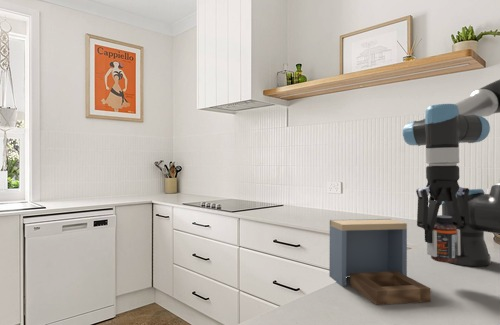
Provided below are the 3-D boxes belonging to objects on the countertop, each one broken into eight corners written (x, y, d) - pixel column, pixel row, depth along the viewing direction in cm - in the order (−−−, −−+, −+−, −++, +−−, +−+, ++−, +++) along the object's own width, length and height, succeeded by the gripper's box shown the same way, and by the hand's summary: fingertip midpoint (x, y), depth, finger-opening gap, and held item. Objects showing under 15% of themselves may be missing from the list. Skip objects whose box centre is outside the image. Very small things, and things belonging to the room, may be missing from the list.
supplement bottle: (427, 260, 89) (426, 216, 89) (435, 255, 93) (434, 213, 93) (453, 265, 85) (452, 218, 85) (460, 259, 89) (459, 215, 89)
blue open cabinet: (389, 273, 98) (389, 218, 99) (406, 282, 90) (406, 223, 91) (329, 276, 95) (329, 219, 96) (341, 286, 88) (341, 224, 88)
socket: (396, 282, 91) (396, 271, 91) (430, 301, 78) (430, 288, 78) (350, 284, 88) (350, 273, 88) (376, 304, 76) (376, 291, 76)
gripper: (463, 164, 94) (465, 249, 94) (400, 165, 91) (401, 253, 91) (486, 164, 87) (488, 256, 87) (418, 165, 84) (419, 260, 84)
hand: (443, 254), depth 89 cm, fingers closed on supplement bottle, 6 cm apart
